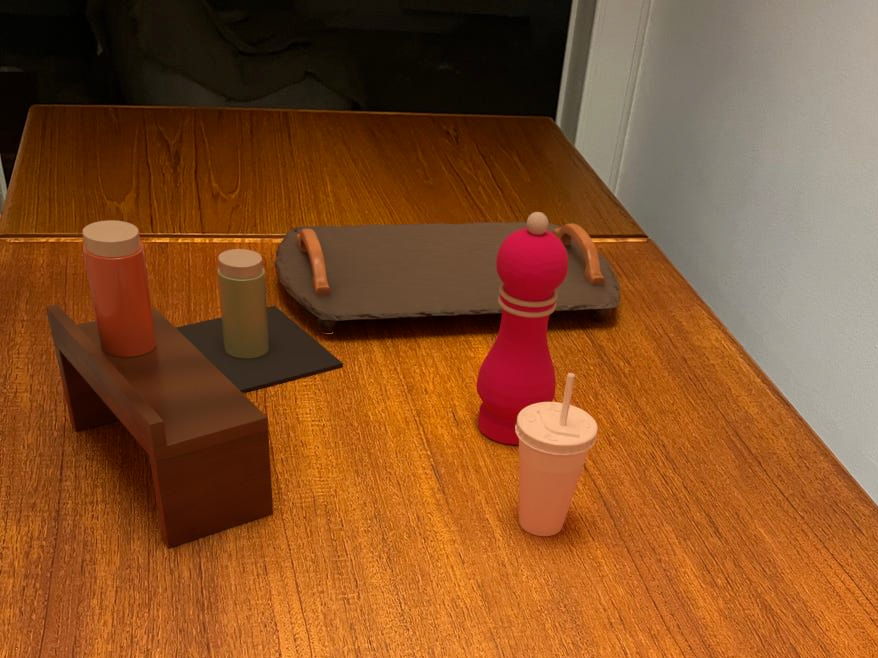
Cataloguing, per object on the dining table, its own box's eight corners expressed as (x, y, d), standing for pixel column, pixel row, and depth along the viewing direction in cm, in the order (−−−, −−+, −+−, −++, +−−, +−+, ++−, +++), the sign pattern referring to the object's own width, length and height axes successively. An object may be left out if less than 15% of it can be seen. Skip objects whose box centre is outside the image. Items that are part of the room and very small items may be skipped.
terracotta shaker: (113, 362, 79) (93, 246, 73) (91, 338, 82) (70, 224, 75) (166, 349, 81) (151, 236, 75) (143, 327, 84) (127, 215, 78)
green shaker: (236, 362, 98) (229, 271, 92) (216, 343, 100) (207, 252, 94) (277, 353, 100) (272, 262, 94) (256, 334, 102) (250, 244, 96)
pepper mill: (561, 424, 96) (598, 212, 82) (526, 457, 91) (558, 238, 78) (496, 399, 98) (521, 188, 85) (458, 430, 94) (477, 212, 80)
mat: (213, 401, 93) (212, 397, 93) (149, 336, 101) (149, 333, 101) (343, 366, 100) (343, 363, 100) (274, 308, 108) (274, 305, 107)
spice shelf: (273, 513, 82) (266, 393, 74) (168, 548, 77) (150, 424, 70) (168, 400, 93) (152, 285, 85) (71, 425, 88) (45, 306, 81)
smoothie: (538, 555, 81) (564, 402, 71) (487, 515, 84) (505, 363, 75) (594, 529, 84) (626, 379, 75) (543, 491, 88) (567, 343, 78)
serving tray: (293, 345, 102) (291, 286, 98) (263, 250, 118) (260, 196, 114) (641, 327, 112) (652, 274, 108) (571, 242, 128) (578, 192, 124)
